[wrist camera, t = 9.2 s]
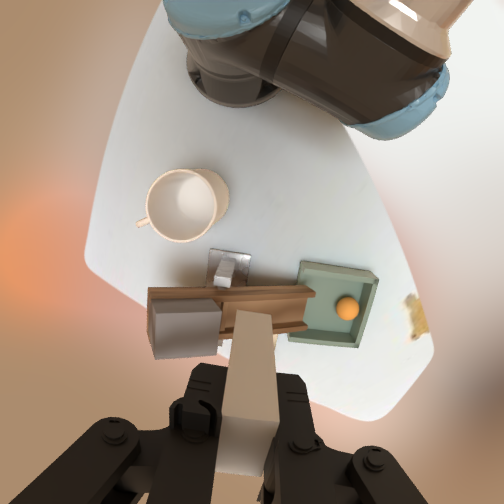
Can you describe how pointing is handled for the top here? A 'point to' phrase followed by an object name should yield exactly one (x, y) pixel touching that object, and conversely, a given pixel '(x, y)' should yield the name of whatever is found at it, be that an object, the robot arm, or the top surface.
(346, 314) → the ball
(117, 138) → the top surface
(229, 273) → the stand
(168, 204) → the mug
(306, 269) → the tray
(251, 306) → the lever
